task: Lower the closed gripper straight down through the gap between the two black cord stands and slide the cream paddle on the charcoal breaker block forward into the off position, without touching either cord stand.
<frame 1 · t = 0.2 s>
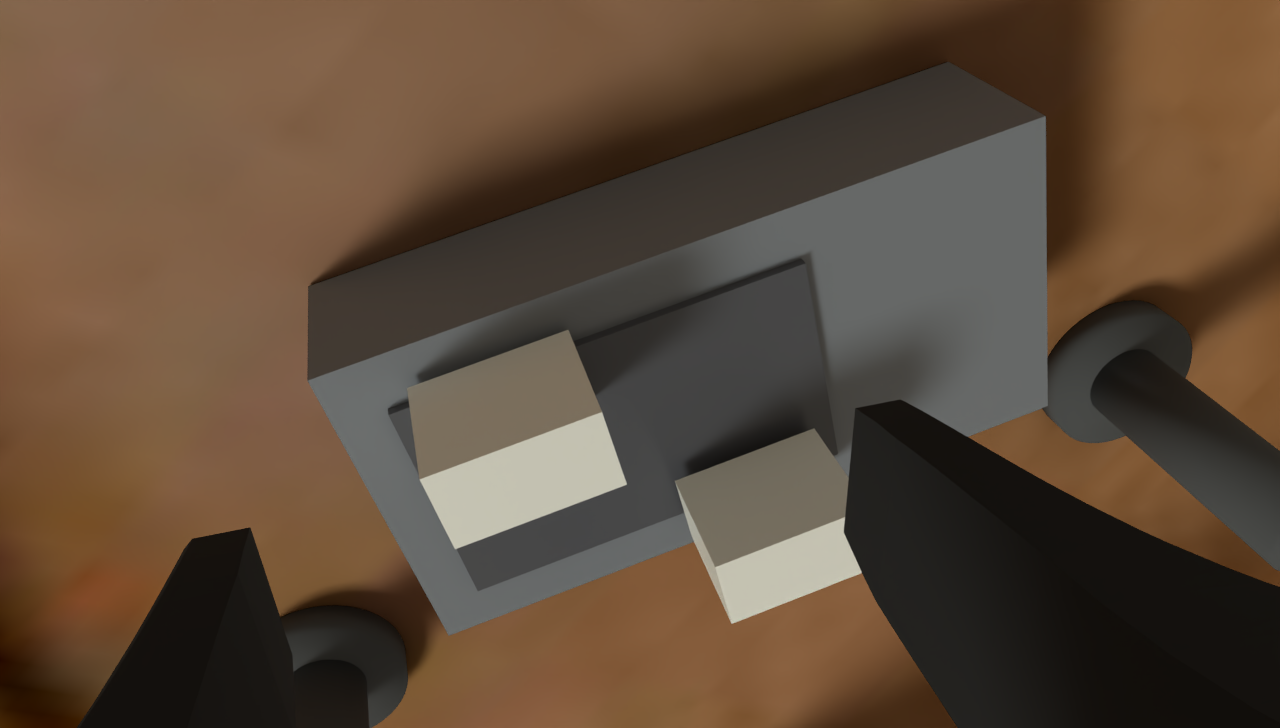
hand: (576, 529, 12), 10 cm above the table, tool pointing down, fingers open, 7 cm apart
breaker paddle: (774, 522, 20), point 5 cm above the table, slide at 0.0 cm
cord stand 2: (324, 663, 26), on the table
breaker block: (674, 309, 23), on the table
cord stand 1: (1105, 365, 28), on the table
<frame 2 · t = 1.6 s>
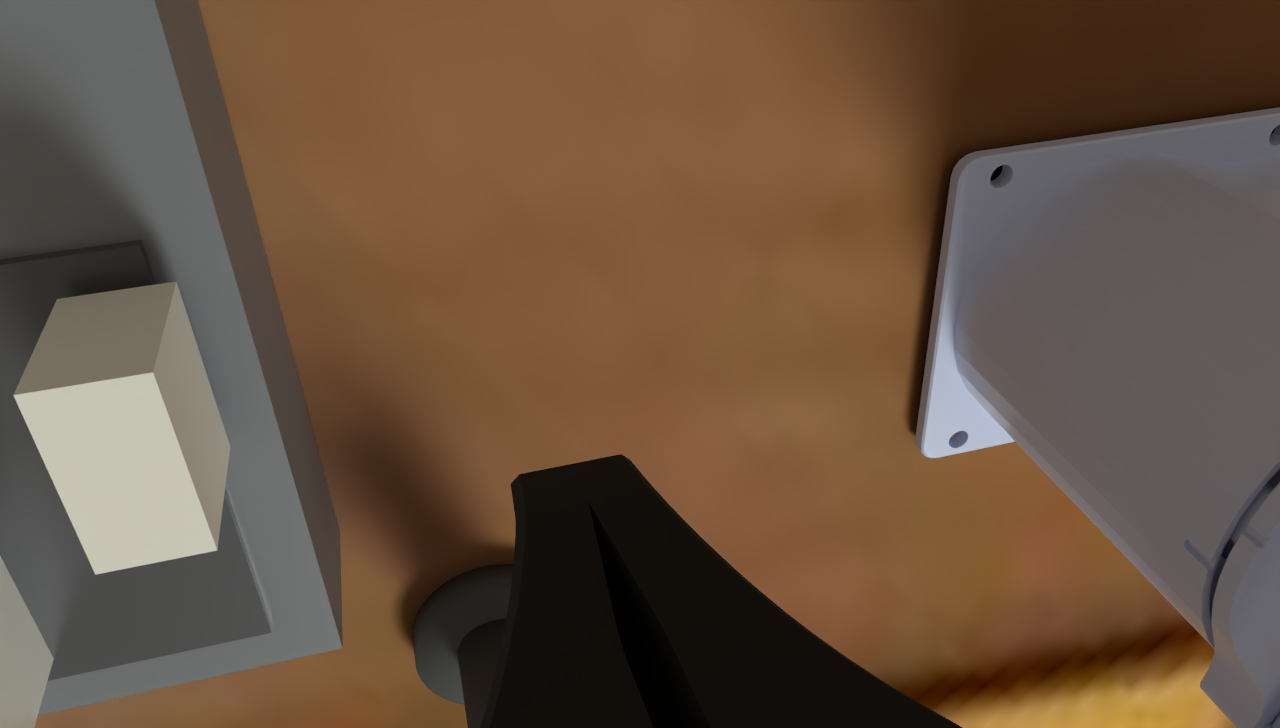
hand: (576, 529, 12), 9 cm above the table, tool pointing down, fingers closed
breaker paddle: (136, 424, 14), point 5 cm above the table, slide at 0.0 cm
cord stand 2: (494, 625, 25), on the table
breaker block: (61, 278, 18), on the table
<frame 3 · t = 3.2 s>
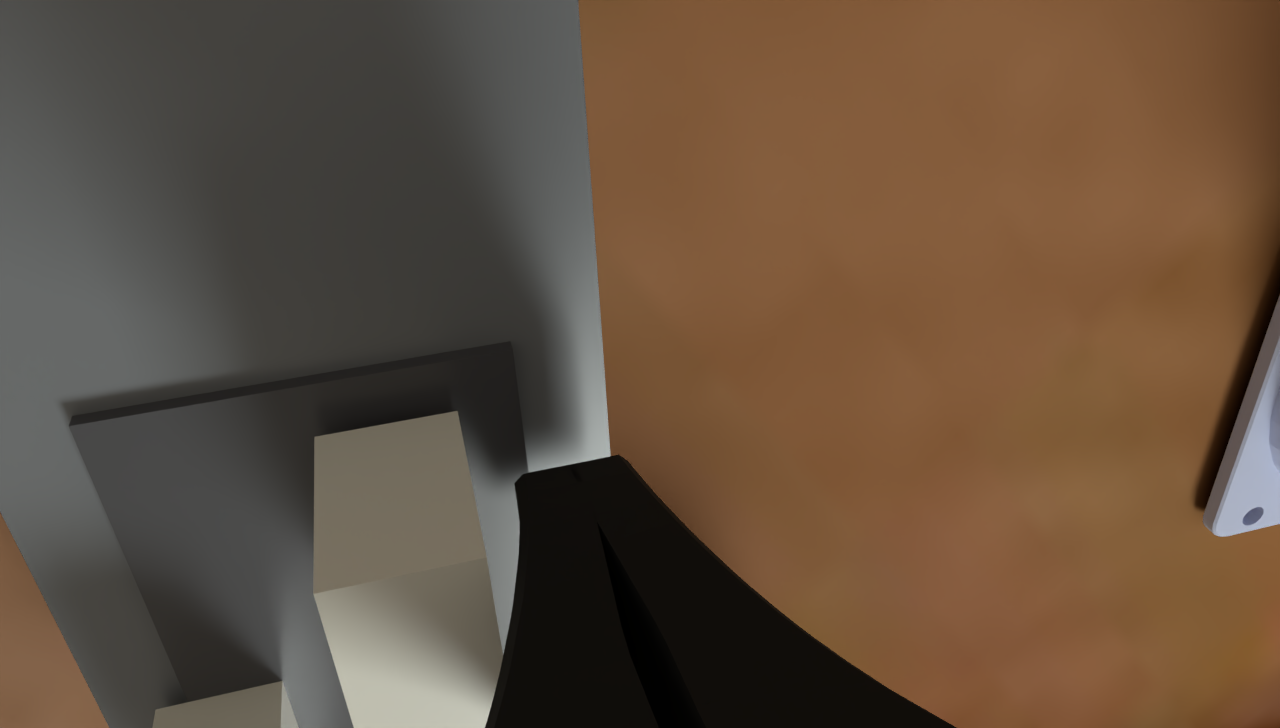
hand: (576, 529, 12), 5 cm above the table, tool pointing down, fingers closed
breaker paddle: (416, 595, 11), point 5 cm above the table, slide at 1.2 cm, touching gripper
breaker block: (333, 364, 15), on the table
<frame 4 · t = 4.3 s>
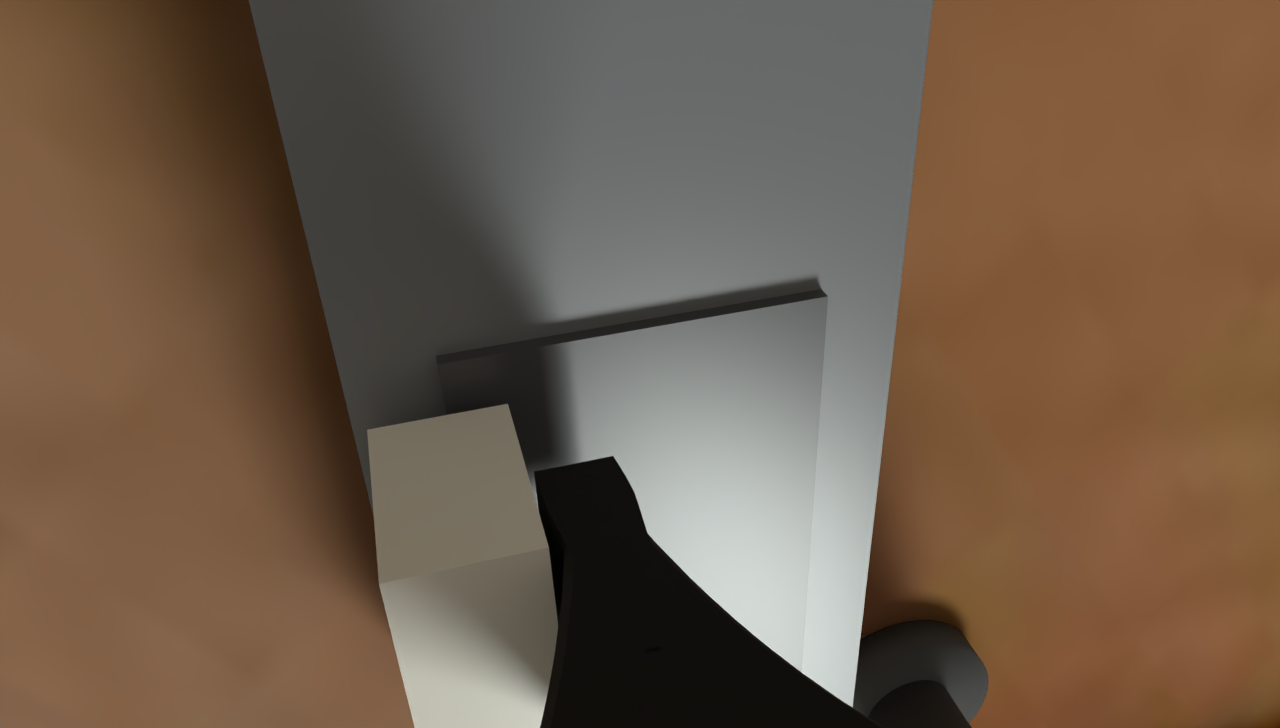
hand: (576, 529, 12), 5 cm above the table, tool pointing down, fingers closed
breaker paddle: (469, 587, 11), point 5 cm above the table, slide at 4.5 cm, touching gripper
cord stand 2: (891, 683, 23), on the table
breaker block: (584, 322, 16), on the table
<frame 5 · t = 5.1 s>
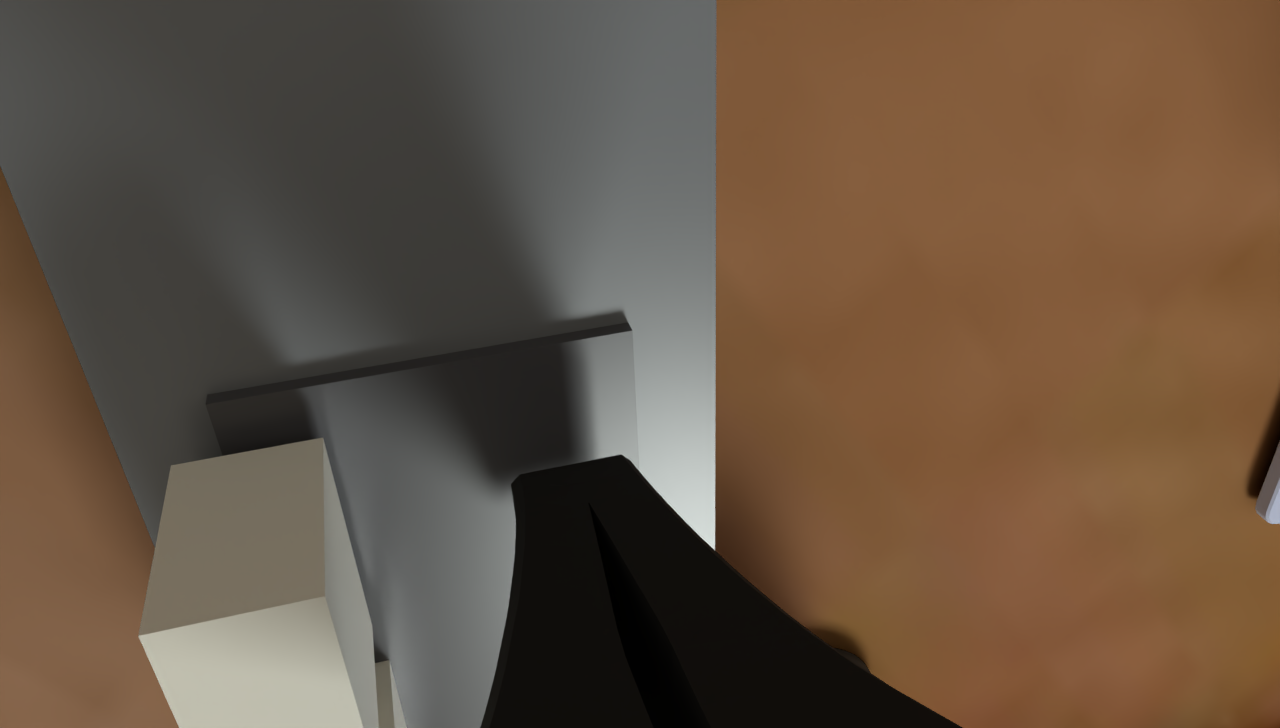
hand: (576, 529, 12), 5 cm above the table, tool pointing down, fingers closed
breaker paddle: (276, 629, 11), point 5 cm above the table, slide at 4.1 cm
breaker block: (425, 349, 16), on the table
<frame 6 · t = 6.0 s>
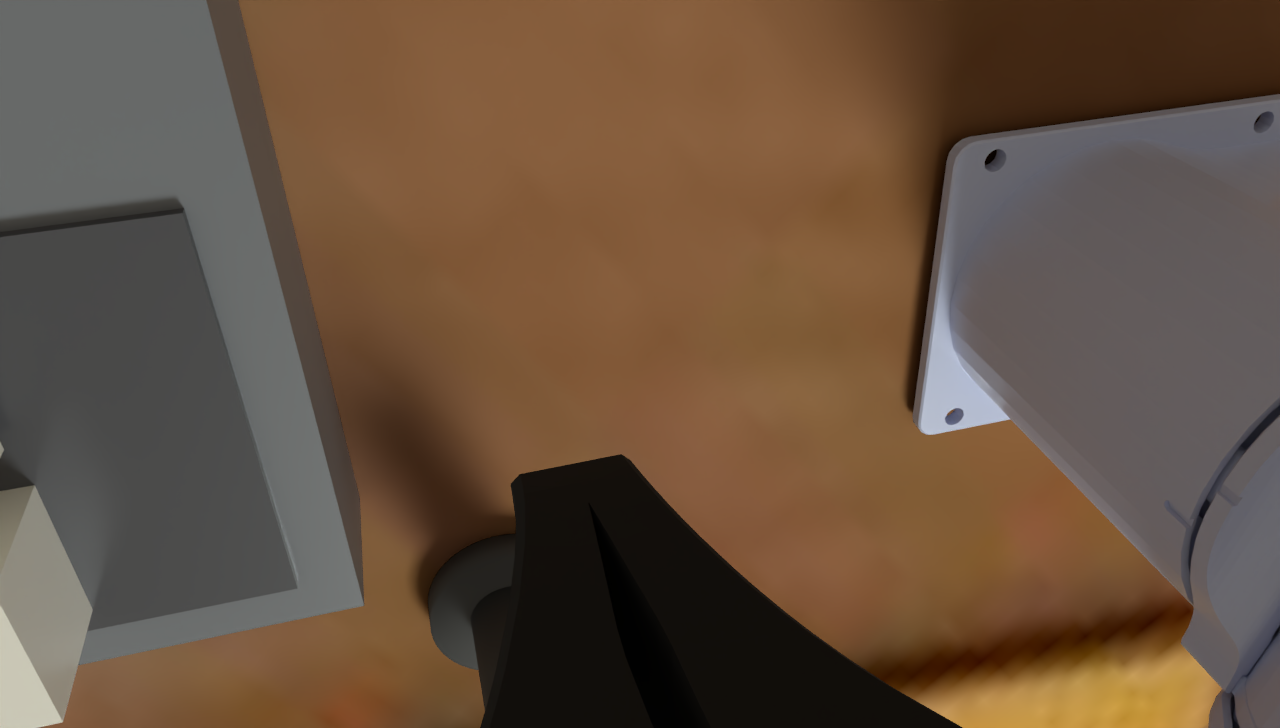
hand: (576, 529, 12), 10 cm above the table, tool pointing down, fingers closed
cord stand 2: (506, 593, 26), on the table
breaker block: (101, 250, 19), on the table
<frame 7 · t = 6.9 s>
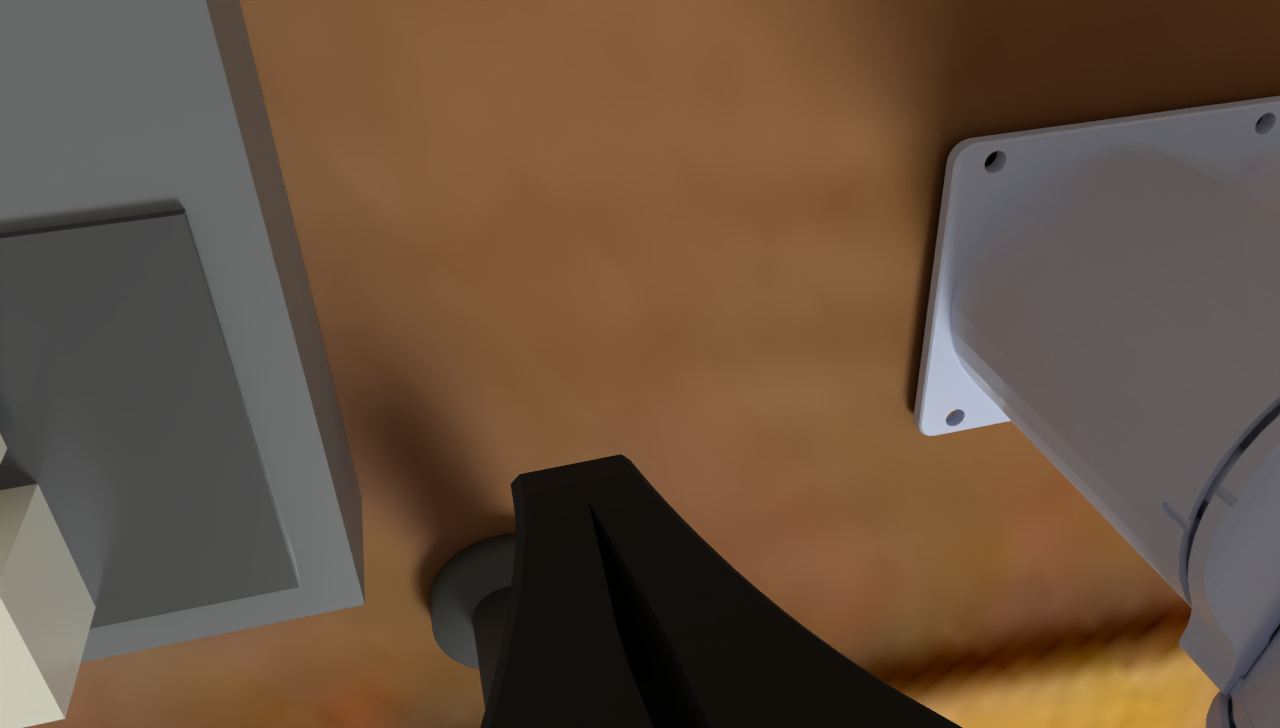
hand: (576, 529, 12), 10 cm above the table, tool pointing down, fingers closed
cord stand 2: (507, 593, 27), on the table
breaker block: (105, 251, 19), on the table
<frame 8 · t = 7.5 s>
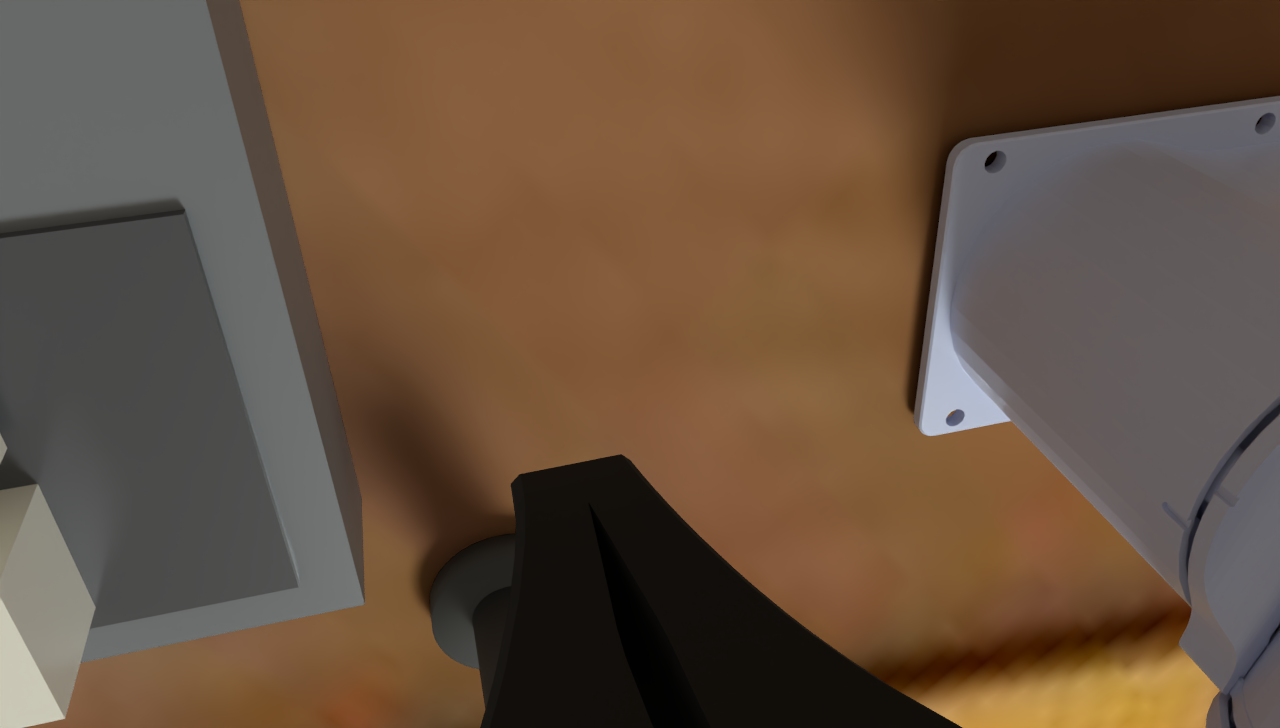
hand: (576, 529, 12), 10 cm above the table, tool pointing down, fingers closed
cord stand 2: (507, 593, 27), on the table
breaker block: (105, 251, 19), on the table
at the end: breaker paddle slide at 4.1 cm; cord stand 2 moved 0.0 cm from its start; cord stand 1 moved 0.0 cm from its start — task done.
